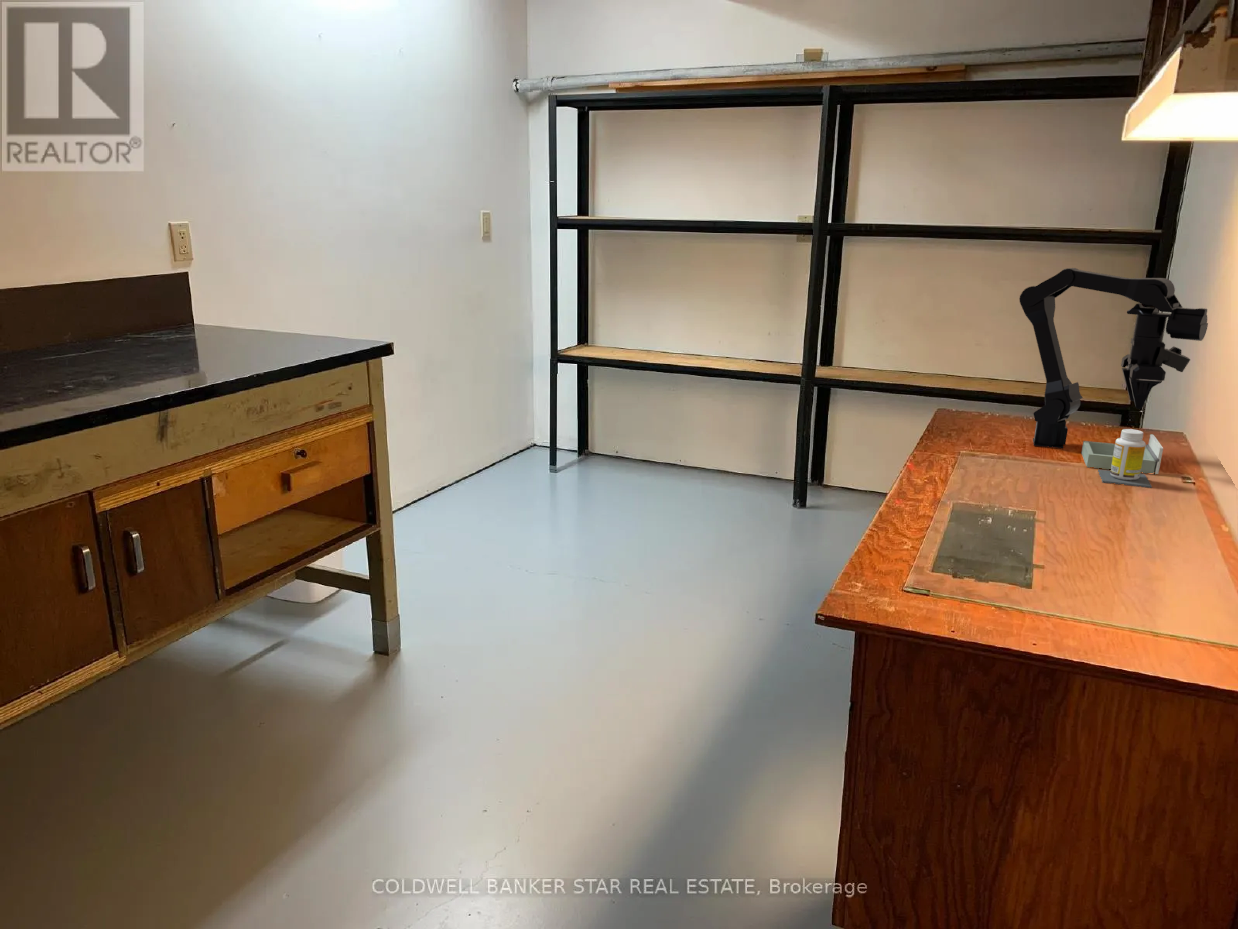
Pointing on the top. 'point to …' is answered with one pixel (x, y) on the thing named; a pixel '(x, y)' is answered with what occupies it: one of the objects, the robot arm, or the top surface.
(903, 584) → the top surface
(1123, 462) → the supplement bottle
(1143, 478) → the mat
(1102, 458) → the drawer
